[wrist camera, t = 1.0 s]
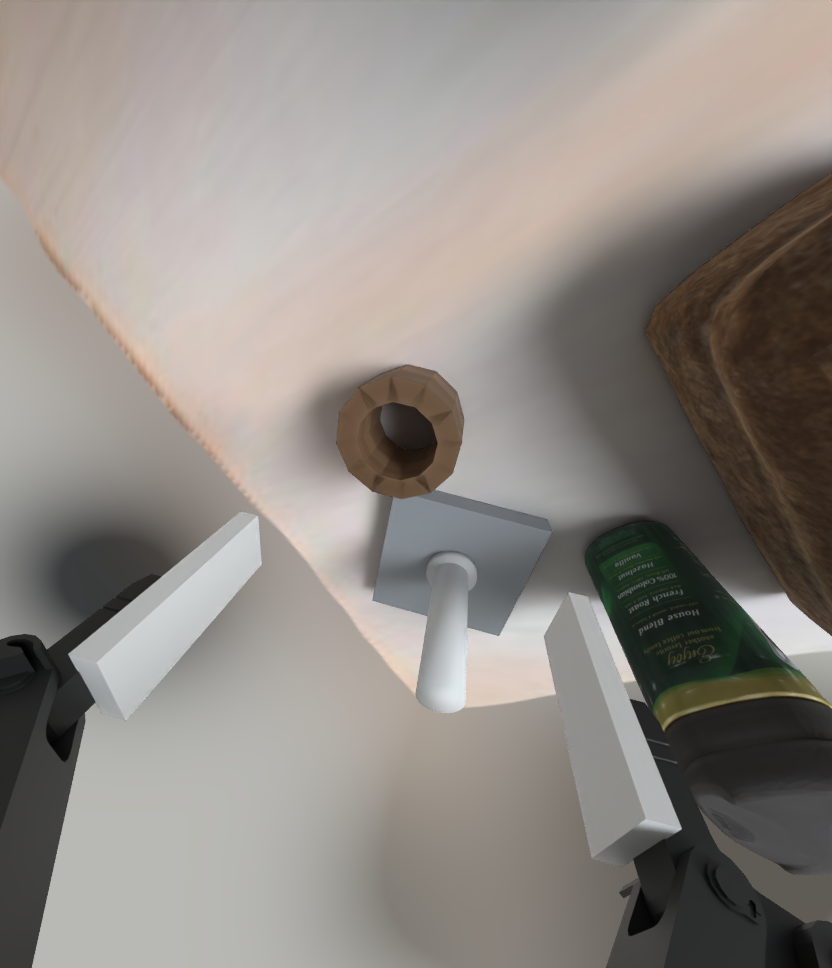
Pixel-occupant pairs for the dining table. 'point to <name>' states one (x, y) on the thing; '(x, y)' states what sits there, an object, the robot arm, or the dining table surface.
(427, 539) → the post block
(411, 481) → the ring
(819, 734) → the coffee jar
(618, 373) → the dining table surface
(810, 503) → the bread
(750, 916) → the robot arm
